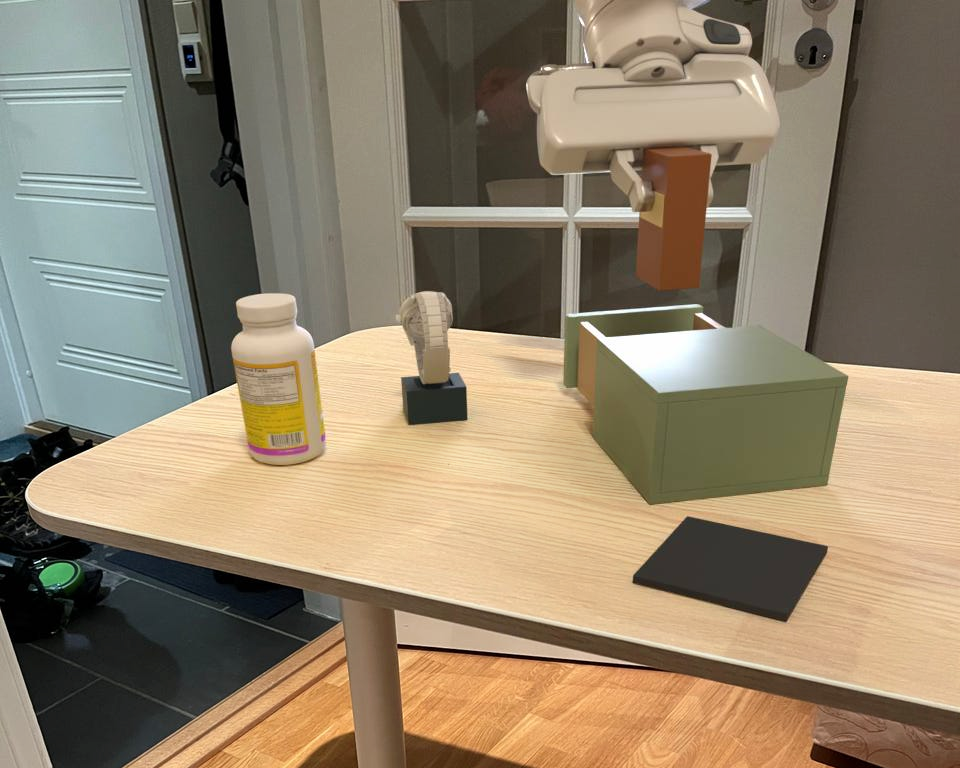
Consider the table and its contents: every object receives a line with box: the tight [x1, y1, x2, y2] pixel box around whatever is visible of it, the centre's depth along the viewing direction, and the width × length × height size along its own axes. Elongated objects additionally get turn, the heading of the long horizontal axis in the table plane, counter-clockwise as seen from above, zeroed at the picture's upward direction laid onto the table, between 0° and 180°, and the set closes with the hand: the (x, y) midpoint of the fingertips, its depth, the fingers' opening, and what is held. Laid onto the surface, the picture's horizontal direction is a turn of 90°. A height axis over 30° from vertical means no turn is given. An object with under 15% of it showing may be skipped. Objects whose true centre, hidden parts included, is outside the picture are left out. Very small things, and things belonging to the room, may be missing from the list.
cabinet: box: [592, 324, 849, 505], centre depth 75 cm, size 15×15×9 cm
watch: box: [395, 290, 468, 426], centre depth 85 cm, size 6×8×11 cm
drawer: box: [562, 303, 726, 408], centre depth 87 cm, size 18×13×7 cm
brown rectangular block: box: [635, 146, 712, 292], centre depth 77 cm, size 6×4×10 cm, turn 11°
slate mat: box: [632, 515, 829, 622], centre depth 62 cm, size 10×10×1 cm
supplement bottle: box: [230, 292, 327, 466], centre depth 78 cm, size 7×7×13 cm
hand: (673, 205), depth 77 cm, fingers closed on brown rectangular block, 4 cm apart
